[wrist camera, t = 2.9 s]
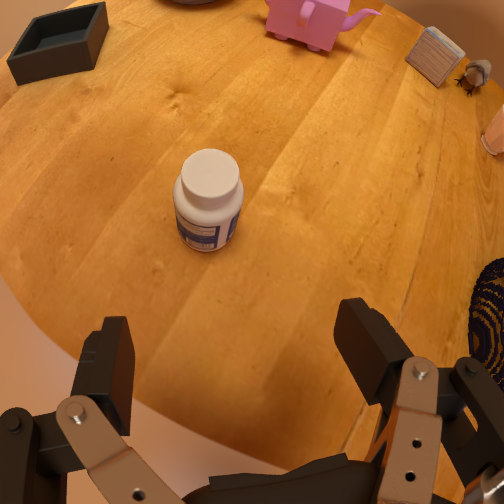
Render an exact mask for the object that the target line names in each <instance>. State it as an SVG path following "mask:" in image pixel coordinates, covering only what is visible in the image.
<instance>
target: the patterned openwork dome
mask: <svg viewBox="0 0 504 504" xmlns="http://www.w3.org/2000/svg"><path fill="white" fill-rule="evenodd" d="M500 263H502V264H500ZM498 264H499V265H498ZM493 265H496V266H494V267H492V266H493ZM484 269H485V270H482V271H483V272H481V274H480V277H479V279H477V281H476V283H477V285H475V288H474V292H473V294H472V297H471V299H472V301H471V306H470V308H469V313H470V317H469V324H468V326H469V333H468V339H469V350H470V354H471V358H474V359H476V360H478V361H479V362H480V363H481V364H482V363H485V361H487V360H488V356H489V354H490V353H491V350H490V349H492V343H491V333H490V328H488V326H486V324H485V322H484V320H483V321H481V319H479V317H476V318H473V314H472V312H474V311H477V313H478V312H479V314H482V316H484V318H486V320H487V321H489V324H490V326H491V327H492V328H493V330H494V340H495V348H494V352H493V353H492V356H493V357H491V360H490V362H488V364H487V366H485V369H486V370H487V369H490V368H491V366H493V364H494V362H495V361H496V357H497V354H498V343H499V334H498V333H497V331H496V322H494V320H492V316H490V314H488V312H487V313H486V311H484V309H481V310H479V308H476V309H475V307H474V305H475V304H479V303H480V305H483V307H484V306H487V308H489V307H490V311H492V313H494V315H496V319H498V323H500V326H501V330H500V338H501V344H502V346H503V351H501V353H500V360H499V362H498V363H497V365H496V367H493V369H492V370H491V372H490V375H491V374H496V375H493V377H492V378H493V379H494V381H495V382H496V383H499V382H500V380H501V379H502V378H504V362H503V366H502V368H501V369H500V371H499V373H496V371H497V367H500V365H501V364H502V361H501V360H503V358H504V332H503V330H504V326H503V318H504V287H503V288H502V286H500V284H498V285H495V284H493V282H490V283H487V284H484V283H481V282H482V281H485V282H488V281H492V280H495V279H497V277H498V276H499V278H501V277H504V272H503V269H504V258H500V259H496V260H495V261H492V263H490V264H489V265H487V266H485V268H484ZM489 270H490V271H489ZM493 270H495V272H496V271H499V270H500V272H496V273H495V272H493ZM487 271H488V272H487ZM491 273H493V274H492V276H491ZM487 274H489V275H487ZM495 275H497V277H494V276H495ZM480 283H481V284H480ZM479 288H480V290H478V289H479ZM486 288H487V290H485V291H483V289H486ZM489 289H491V291H493V293H491V291H489V292H488V290H489ZM494 292H498V296H499V295H501V297H500V298H498V296H496V294H494ZM477 297H480V298H484V300H485V301H489V300H490V302H492V304H494V306H496V308H497V307H498V312H500V311H503V313H502V318H501V316H499V313H498V312H497V310H495V308H493V306H492V307H491V305H489V303H486V302H482V303H481V301H477V302H476V300H474V298H477ZM502 297H503V299H502ZM472 332H474V334H475V335H477V338H478V337H479V345H480V346H478V349H477V351H475V352H476V353H474V347H473V337H472ZM497 385H498V386H499V387H500V389H501V390H502V392H503V393H504V388H503V387H504V379H503V380H501V382H500V384H497Z"/></svg>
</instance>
